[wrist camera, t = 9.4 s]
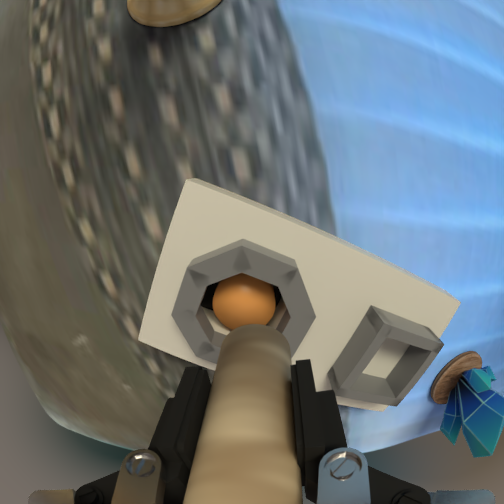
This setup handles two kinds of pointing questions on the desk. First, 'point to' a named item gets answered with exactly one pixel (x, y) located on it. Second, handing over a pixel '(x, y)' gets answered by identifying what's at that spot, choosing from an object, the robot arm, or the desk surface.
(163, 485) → the robot arm
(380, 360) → the panel
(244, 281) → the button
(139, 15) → the hand bell
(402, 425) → the desk surface
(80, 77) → the desk surface
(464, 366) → the gemstone
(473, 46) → the desk surface
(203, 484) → the wooden cylinder rod
